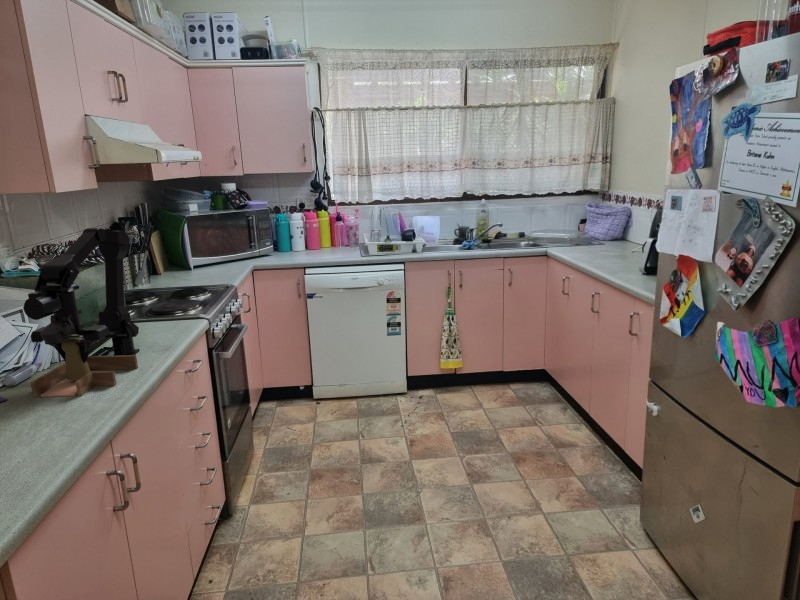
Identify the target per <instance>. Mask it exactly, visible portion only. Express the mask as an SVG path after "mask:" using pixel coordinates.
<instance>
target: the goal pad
mask: <svg viewBox="0 0 800 600" xmlns="http://www.w3.org/2000/svg"><path fill="white" fill-rule="evenodd" d="M76 381H77V380H67V381H65V380H62V381H61V382H59V383H58V384H56V385H55V386H53V387H52V388H50V389H48V390H47V391H45V392H44V393H42V394H41V395H39V396H40V397H41V398H42V397H48V398H49V397H50V398H51V397H75V396H76V395H78V394H77V389H76V384H75V382H76Z"/></svg>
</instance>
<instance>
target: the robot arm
mask: <svg viewBox="0 0 800 600" xmlns="http://www.w3.org/2000/svg"><path fill="white" fill-rule="evenodd" d="M130 240H131V239H130V236H129V234H127V233H126V231H124V230H109V229H104V228H101V227H87V228H84V229H83V231H82V234H81V235H80V236H79V237H78V238H76V240H75V241H74V242H73V243H72V244H71V245H70V246H69V248H67V249H66V251H65V252H64V253H63V254H61V256H58V257H55V258H52V259H50V260H49V261H47V262H45V264H43V265H42V267H40V273H39V276H38V279H37V281H36V284H35V287H34V290H33V291H34V292H30V293H28V294H27V296H28V297H27V299H26V300H24V303H23V304H24V305H23V311H24V314H25V315H26V316H27V317H28V318H29V319H30V320H35V321H38V320H40V319H44V318H46V317H48V316H50V318H49V319H50V323H49V324H47V325H46V326H42V327H39V328H38V329H36V330H33V331H31V334H30V336H29V337H30V340H31V343H42V342H44V344H45V345H49V346H51V347H53V348H54V349H55V350H56V351H57V353H58V354H59V355H60V357H61V358H62V359H63V362H64V363H65V362H66V358H65V351H63V349H62V342H63V341H64V340H66V339H69V338H80V340H79V341H77V342H75V343H76V344H77V345H78V346H79V349H80V354H81V359H82V361H83V363H85V362H86V361H87V358H88V356H89V353H90V349H91V348H92V345H93V343H94V342H95V341H96V342H97V341H101V340H102V339H104V338H105V339H111V342H112V349H113V350H112V351H113V354H114V355H115V356H116V355H137V353H139V351H140V350H141V349H140V348H135V343H134V338H136V337H137V336H138V334H139V329H140V328H139V326H138V325H137V324H135V323H134V322H133V321H132V318H131V314H130V312H129V310H128V309H127V307H126V306H125V287H124V285H125V284H124V283H125V282H124V281H125V280H124V277H125V276H124V259H125V258H126V256H127V254H128V252H129V250H130ZM97 247H98V251H99V253H100V254H101V256H102V257H103V259H104V271H105V272H104V274H105V276H104V277H105V279H104V280H105V307H104V309H103V310H102V311H99V312H98V323H97V324H98V325H97V324H95V325H92V326H90V327H88V328H85V323H81V319H80V314H82V313H83V311H82V309H78V308H79V307H78V303H77V299H76V294H75V293H76V292H75V291H76V290H79V289H80V286H79V285H78V284H76V283H74V282H75V281H76V279H77V277H78V275H79V274H80V266H81V264H82V263H84V262H85V260H86V259H87V258H88V257H89V256H90V255H91V253H93V252H94V250H95V249H96V248H97ZM83 328H85V329H83Z"/></svg>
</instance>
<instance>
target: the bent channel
mask: <svg viewBox="0 0 800 600" xmlns="http://www.w3.org/2000/svg"><path fill="white" fill-rule="evenodd" d="M137 357H138V356H137V354H134V355H116V356H111V355H88V358H87V363H88V366H89V369H90V371H91V372H89V373H88V374H86V375H85V376H83V377H82V378H80V379H79V380H75V381H76V382H75V384H76V389H77V394H76V395H77V396H78V397H81V396H83V395H85V394H86V393H87V391H88V392H89V391H90V390H92V389H93V388H95V387H115V386H117V380H116V374H115V371H114V370H137V369H138V368H139V364H138V359H137ZM108 369H109V370H108ZM65 380H67V378H66V362H65V361H64V362H63V363H62V364H60V365H58V366H56V367H55V368H52V369H51V370H50V371H47V372H46V373H44V374H42V375H41V376H39V377H38V378H36V379H34V380H32V381H31V382H30V383H29V384H30V388H31V393H32V397H33V398H37V397H39V396H40V395H42V394H43V393H45V392H46V391H48V390H49V389H51V388H53V387H54V386H56V385H57V384H59V383H60V382H62V381H65Z"/></svg>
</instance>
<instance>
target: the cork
mask: <svg viewBox="0 0 800 600" xmlns="http://www.w3.org/2000/svg"><path fill="white" fill-rule="evenodd" d="M79 340H80V337H69V338H68V339H66V340H64V341H63V342H62V349H63V351H65V358H66V380H67V381H77V380H79V379H80V378H82V377H83V376H85V375H86V374H88V373H89V372H91V371H92V370H90V369H89V366H88V363H87V361H86V362H85V363H83V361H82V359H81V354H80V349H79V346H78V345H77V344H76V343H75V342H77V341H79Z"/></svg>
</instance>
